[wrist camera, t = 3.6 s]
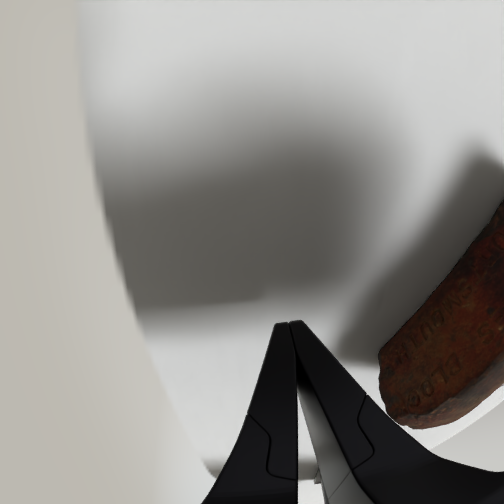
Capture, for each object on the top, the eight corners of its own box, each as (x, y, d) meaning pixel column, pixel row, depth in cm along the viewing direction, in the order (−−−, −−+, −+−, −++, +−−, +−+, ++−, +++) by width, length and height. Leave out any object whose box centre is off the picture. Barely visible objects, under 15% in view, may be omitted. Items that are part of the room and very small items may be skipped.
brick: (511, 170, 8) (595, 233, 4) (539, 213, 9) (601, 271, 6) (364, 356, 13) (393, 443, 9) (412, 365, 14) (442, 436, 11)
